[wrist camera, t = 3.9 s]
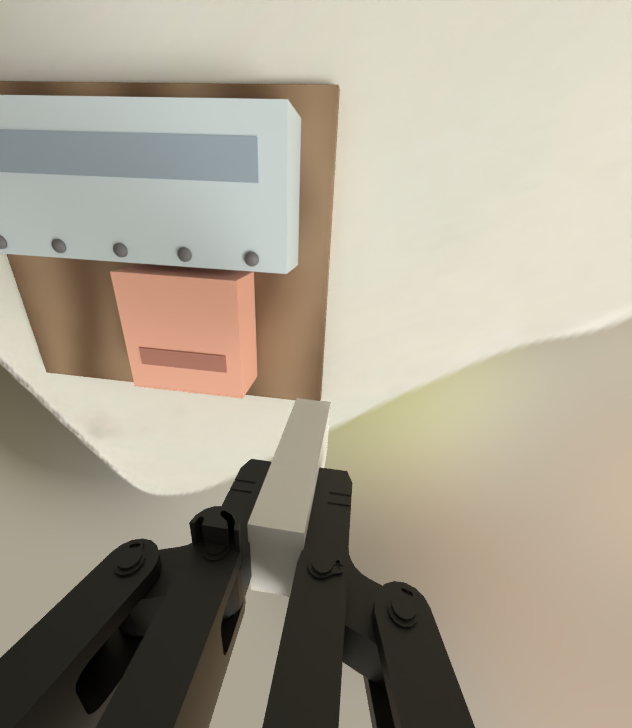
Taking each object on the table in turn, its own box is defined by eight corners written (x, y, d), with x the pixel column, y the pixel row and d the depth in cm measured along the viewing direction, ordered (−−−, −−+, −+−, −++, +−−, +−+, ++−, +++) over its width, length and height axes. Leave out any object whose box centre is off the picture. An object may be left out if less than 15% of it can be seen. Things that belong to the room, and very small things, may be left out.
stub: (161, 365, 27) (133, 386, 23) (143, 263, 23) (108, 271, 20) (257, 376, 26) (242, 398, 23) (253, 271, 22) (235, 281, 19)
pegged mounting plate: (28, 246, 24) (-26, 252, 21) (-14, 111, 21) (-86, 92, 17) (298, 264, 22) (286, 274, 19) (301, 118, 19) (287, 98, 15)
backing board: (54, 368, 29) (46, 372, 29) (-38, 85, 21) (-53, 80, 20) (321, 397, 27) (319, 402, 26) (339, 89, 18) (338, 84, 18)
